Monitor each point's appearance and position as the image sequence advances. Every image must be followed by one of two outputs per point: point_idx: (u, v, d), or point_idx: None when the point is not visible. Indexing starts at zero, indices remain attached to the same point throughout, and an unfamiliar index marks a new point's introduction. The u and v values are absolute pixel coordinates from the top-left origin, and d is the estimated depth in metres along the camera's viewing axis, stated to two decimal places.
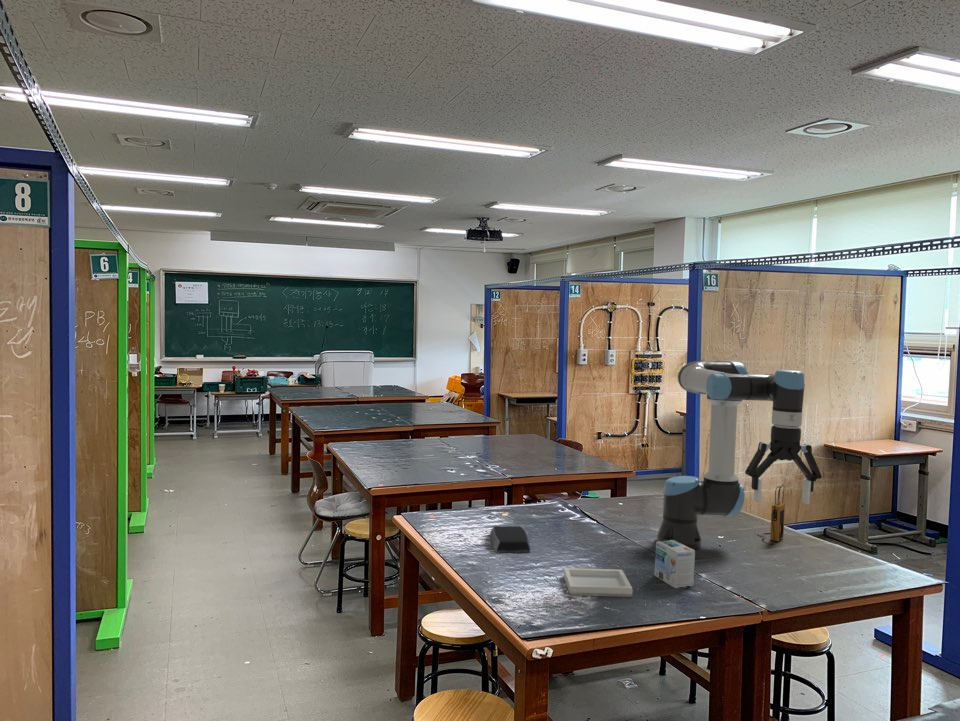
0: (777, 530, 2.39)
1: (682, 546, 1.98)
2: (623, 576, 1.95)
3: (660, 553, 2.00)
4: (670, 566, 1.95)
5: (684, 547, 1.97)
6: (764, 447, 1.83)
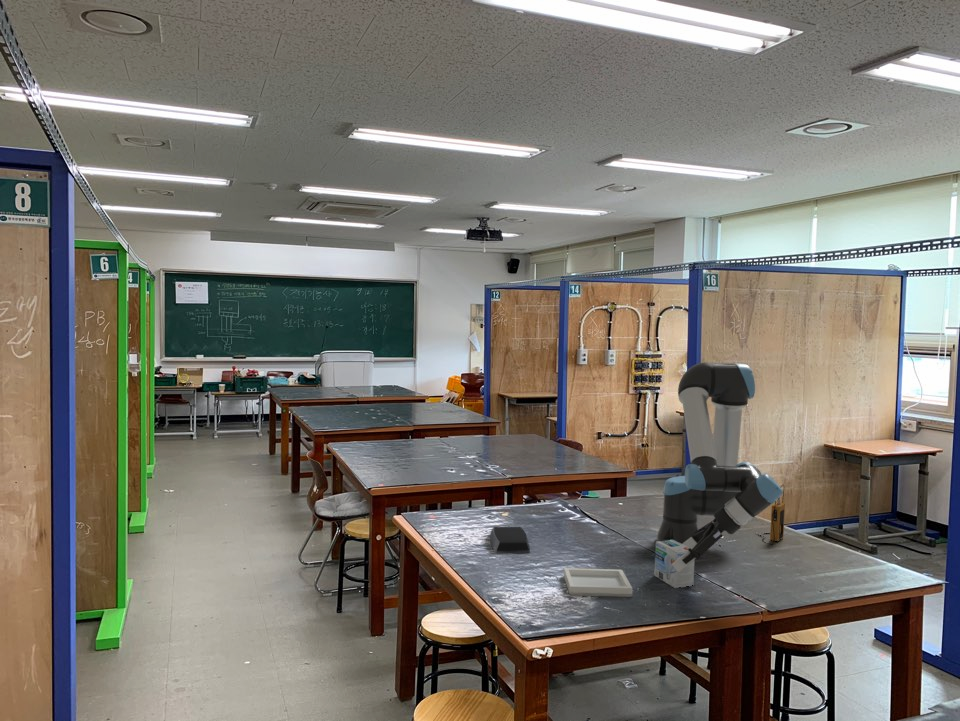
0: (777, 530, 2.39)
1: (682, 546, 1.98)
2: (623, 576, 1.95)
3: (660, 553, 2.00)
4: (670, 566, 1.95)
5: (684, 547, 1.97)
6: (719, 538, 1.88)
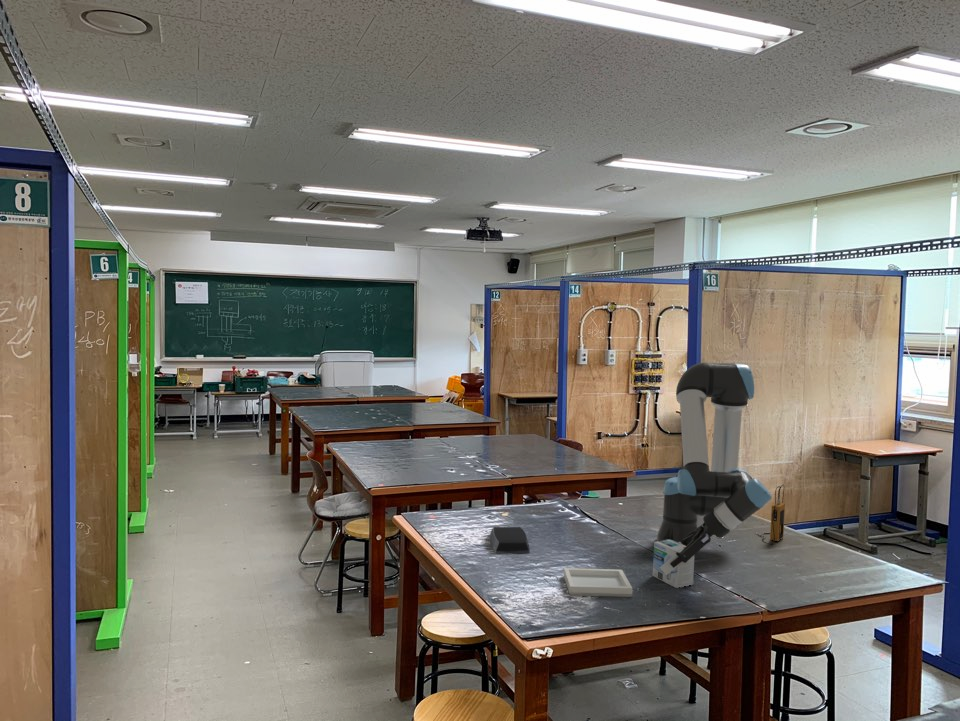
0: (777, 530, 2.39)
1: (681, 545, 1.98)
2: (623, 576, 1.95)
3: (659, 553, 2.00)
4: None
5: (683, 546, 1.98)
6: (707, 542, 1.89)
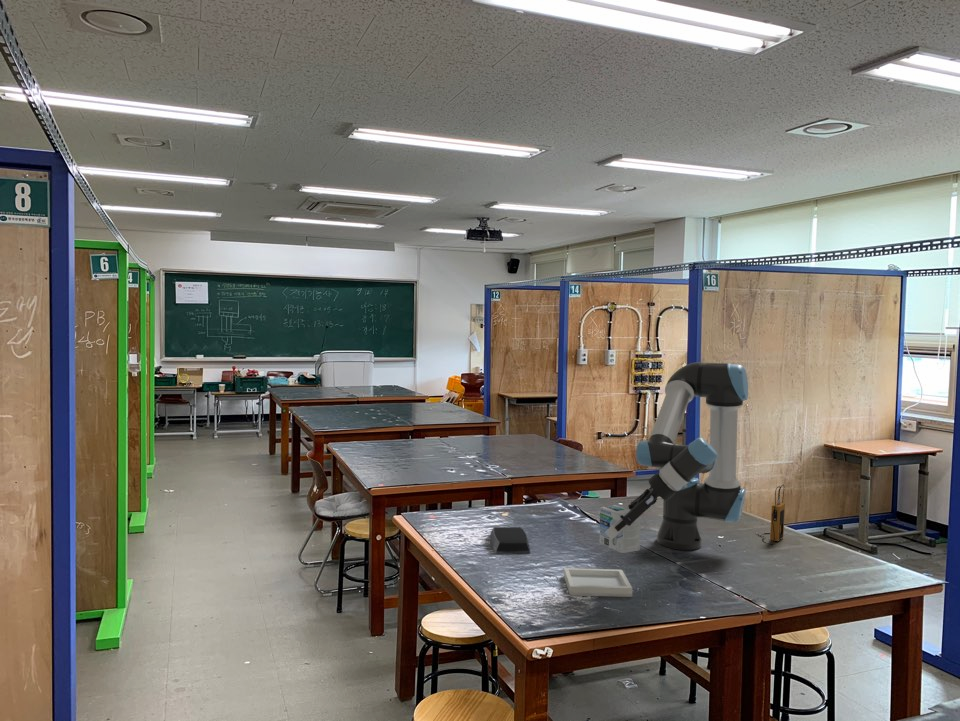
0: (777, 530, 2.39)
1: (627, 510, 1.91)
2: (623, 576, 1.95)
3: (605, 519, 1.92)
4: None
5: (629, 510, 1.91)
6: (652, 504, 1.83)
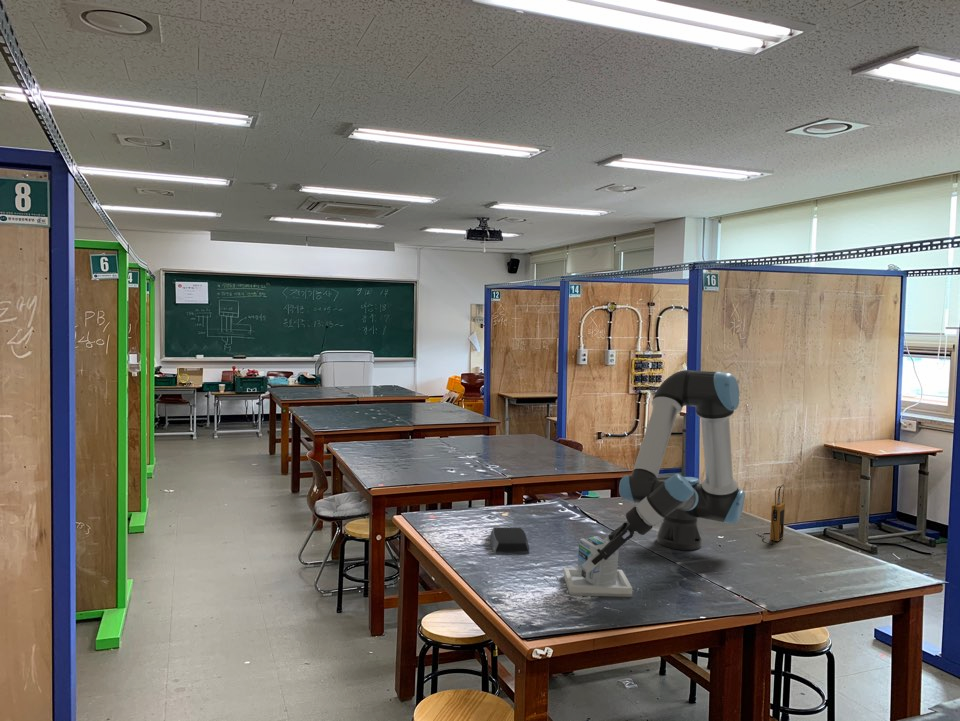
0: (777, 530, 2.39)
1: (606, 544, 1.92)
2: (623, 576, 1.95)
3: (584, 551, 1.93)
4: None
5: None
6: (628, 538, 1.83)
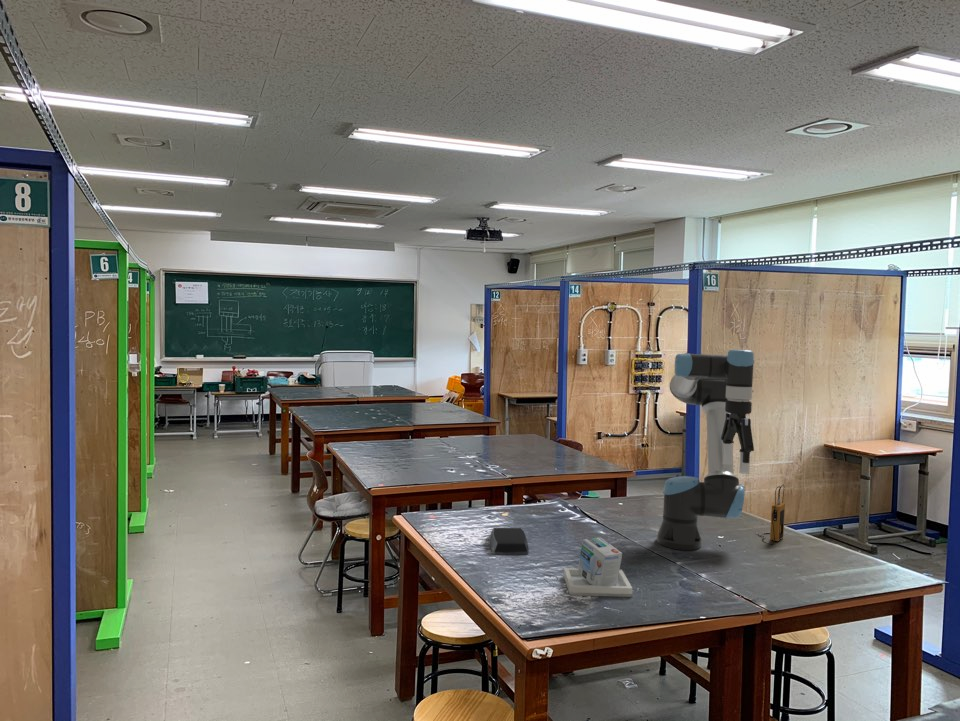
0: (777, 530, 2.39)
1: (609, 547, 1.91)
2: (623, 576, 1.95)
3: (586, 552, 1.92)
4: (596, 567, 1.88)
5: (611, 548, 1.90)
6: None
